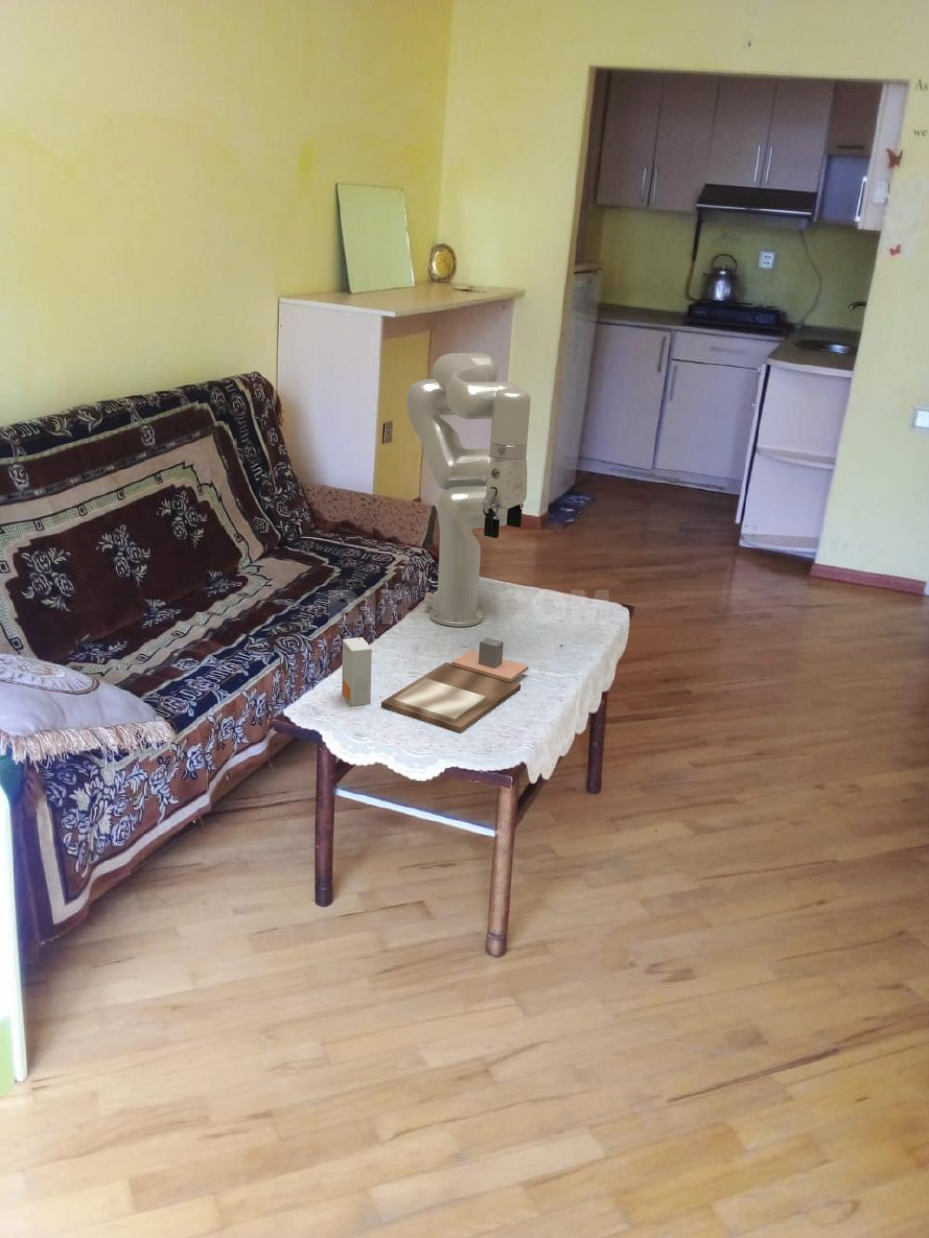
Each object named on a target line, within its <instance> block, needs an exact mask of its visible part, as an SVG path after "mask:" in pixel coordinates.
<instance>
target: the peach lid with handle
mask: <svg viewBox="0 0 929 1238" xmlns="http://www.w3.org/2000/svg"><path fill="white" fill-rule="evenodd" d="M478 648H479V649H478V651H476V650H473V649H470V650H468V651H467V652H465V653H464V654H462V655H460V656H459V657H457V658H455V659H453V660H452V661H451V664H452V665H453V666H456V667H460V668H463V669H466V670H470V671H473V672H477V673H480V674H484V675H487V676H490V677H494V678H497V679H501V680H504V681H507V682H511V681H512V682H514V680H515V679H517V678H519V677H520V676H521V675H522V674H524V673H526V672H527V671H528V670H529V665H527V664H522V663H520V662H519V663H518V662H516V661H512V660H509V659H505V658H503V656H504V655H503V653H504V641H501V640H499V639H494V638H492V637H491V638H490V637H485V638H484V639H481V640H480V641H479V647H478Z"/></svg>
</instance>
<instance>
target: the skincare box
mask: <svg viewBox="0 0 929 1238" xmlns="http://www.w3.org/2000/svg"><path fill="white" fill-rule="evenodd" d="M372 650H373V648H371V646H370V645H369V643H368V641H366V640H365V639H364V637H363V636H362V637H353V638H344V639H342V655H341V656H342V659H341V661H342V664H341V665H342V667H341V668H342V669H341V671H342V673H341V674H342V675H341V676H342V677H341V695H342V696H343V697H344V698H345V700H346V701H347V703H348V704H349V705H350V707H356V706H365V705H370V704H371V699H372V697H371V695H372V689H371V688H372V659H373V657H372V654H373V653H372Z"/></svg>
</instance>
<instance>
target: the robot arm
mask: <svg viewBox="0 0 929 1238" xmlns="http://www.w3.org/2000/svg"><path fill="white" fill-rule="evenodd" d="M498 374H499V373H498V366H497V364H496V361H495V359H493V357H492V356H491V355H489V354H487V353H483V352H451V353H446V354H444V355H441V356H440V357H439V358H438V359H437V360H436V361H435V363H434V364H433V368H432V376H433V378H431V379H430V378H429V379H427V378H426V379H423V380H419V381H416V382H413V384H411V386H409V388H408V390H407V392H406V411H407V415H408V418H409V422H410V424H411V426H412V429H414V433H416V435H417V437H418V438H419V439H420V441H421V443H422V445H423V447H424V450H425V453H426V454H425V455H426V457H427V460H428V464H429V467H430V470H431V474H432V476H433V479H434V481H435V483H436V485H437V486H438V488H439V489H441V490H444V491H443V492H441V493H440V495H439V496H438V498H437V515H438V517H437V518H438V525H439V553H438V554H439V556H438V557H439V558H438V577H437V594H435V593H433V592H428V591H426V593H425V594H424V598H423V603H424V604H427V605H431V606H432V608H431V609H430V610H429V617H430V619H431V620H432V621H433V622H435V623H437V624H440V625H442V626H446V627H457V628H458V627H459V628H461V627H463V628H464V627H465V628H466V627H471V626H476V625H477V624H480V623H481V622H482V621H483V619H484V613H483V612H482V610H481V609H479V608H478V597H479V596H478V595H479V586H480V585H479V584H480V569H481V568H480V567H481V554H482V553H481V545H480V542H479V540H478V539H477V537H476V536H475V535H474V534H473V532H472V530H474V529H479V528H480V529H482V528H483V535H484V537H488V538H492V539H498V538H499V533H500V527H503V526H506V525H507V526H509V527H514V528H521V526H522V516H523V508H524V502H525V501H526V500H527V491H528V464H527V463H528V462H527V453H528V452H527V450H528V439H529V427H530V426H529V425H530V413H531V412H530V411H531V396H530V393H529V392H527V390H525V389H521V388H520V386H519V385H518V384H516V383H514V382H511V381H498ZM440 416H457V417H459V418H462V419H464V420H491V424H490V425H491V427H490V429H491V430H490V443H489V449H488V448H465V447H463V445H462V443H461V440H460V436H459V434H458V432H457V431H456V430H455V428H454V427H453V426H452V425H450V423H448V422H447V421H446V420H444V419H443V418H442V417H440Z"/></svg>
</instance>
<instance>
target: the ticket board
mask: <svg viewBox="0 0 929 1238" xmlns="http://www.w3.org/2000/svg"><path fill="white" fill-rule="evenodd" d="M521 688H522V684H521V683H518V682H515V681H511V682H507V681H504V680H501V679H497V678H494V677H490V676H487V675H484V674H480V673H477V672H473V671H470V670H466V669H463V668H460V667H456V666H453V665H452V662H448V661H447V662H443V663H442V664H440V665H438V667H437V666H436V668H434V669H432V670H430V671H429V672H427V673H426V674H424V675H423V676H421V677H420V678H417V679H416V680H414V681H413V682H411V683H410V684H408V685H407V686H404V687H403V688H401V689H400V690H398V691H397V692H395V693H393V694H392V695H390V696H389V697H387V698H386V699H383V700H382V701H381V703H380V705H381V706H380V707H381V709H385V710H388V711H391V712H394V713H397V714H400V715H403V716H407V717H409V718H413V719H416V720H419V721H422V722H425V723H428V724H430V725H434V726H437V727H439V728H440V727H441V728H444V729H446V730H449V731H452V732H455V733H459V734H462V733H463V732H464V731H466V730H467V729H468V728H470V727H471V726H473V725H474V724H475V723H476V722H478V721H479V720H481V719H482V718H483V717H485V716H486V715H488V714H489V713H490V712H492V711H493V710H494V709H496V708H497V707H498V706H500V705H501V704H503V703H504V702H505V701H507V700H508V699H510V698H511V697H512V696H513V695H515V694H516V693H518V692H519V691H520V690H521Z"/></svg>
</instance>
